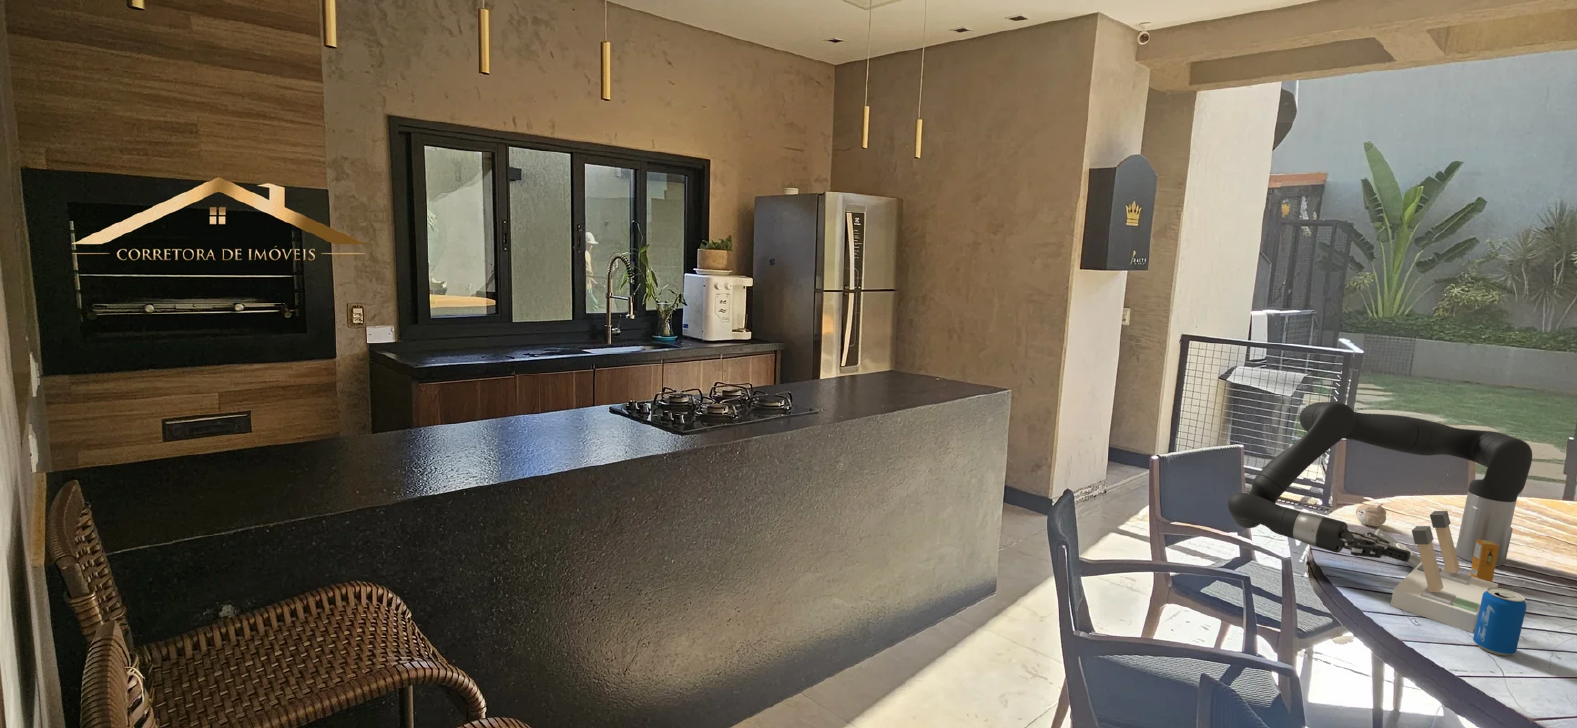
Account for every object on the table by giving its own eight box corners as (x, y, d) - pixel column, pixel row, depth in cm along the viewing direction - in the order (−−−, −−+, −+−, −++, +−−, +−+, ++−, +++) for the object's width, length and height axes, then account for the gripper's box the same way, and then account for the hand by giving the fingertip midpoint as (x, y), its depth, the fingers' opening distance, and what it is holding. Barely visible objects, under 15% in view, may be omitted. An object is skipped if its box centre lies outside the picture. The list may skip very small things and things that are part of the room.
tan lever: (1426, 591, 167) (1411, 530, 169) (1431, 586, 170) (1416, 526, 171) (1440, 592, 166) (1425, 530, 167) (1445, 587, 168) (1430, 525, 169)
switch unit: (1390, 605, 171) (1394, 586, 171) (1418, 577, 186) (1421, 559, 186) (1472, 632, 161) (1476, 612, 160) (1494, 600, 176) (1498, 581, 175)
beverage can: (1463, 640, 158) (1475, 586, 155) (1492, 639, 158) (1504, 585, 156) (1494, 657, 151) (1507, 601, 149) (1524, 657, 152) (1537, 601, 150)
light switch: (1432, 572, 186) (1378, 534, 192) (1415, 586, 188) (1362, 548, 195) (1434, 562, 191) (1381, 525, 198) (1417, 576, 194) (1365, 539, 200)
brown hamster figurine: (1358, 526, 218) (1363, 500, 216) (1351, 519, 223) (1356, 493, 222) (1386, 531, 215) (1391, 504, 214) (1379, 523, 221) (1384, 496, 219)
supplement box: (1484, 578, 187) (1493, 540, 185) (1492, 584, 184) (1500, 545, 182) (1467, 576, 188) (1476, 538, 186) (1475, 582, 185) (1483, 543, 183)
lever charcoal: (1444, 572, 177) (1429, 514, 179) (1448, 567, 180) (1434, 510, 181) (1457, 573, 176) (1442, 514, 177) (1462, 568, 178) (1447, 510, 180)
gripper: (1312, 522, 180) (1404, 548, 166) (1331, 510, 188) (1420, 534, 175) (1307, 552, 181) (1398, 580, 168) (1326, 539, 189) (1414, 565, 176)
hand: (1409, 556), depth 171 cm, fingers closed
